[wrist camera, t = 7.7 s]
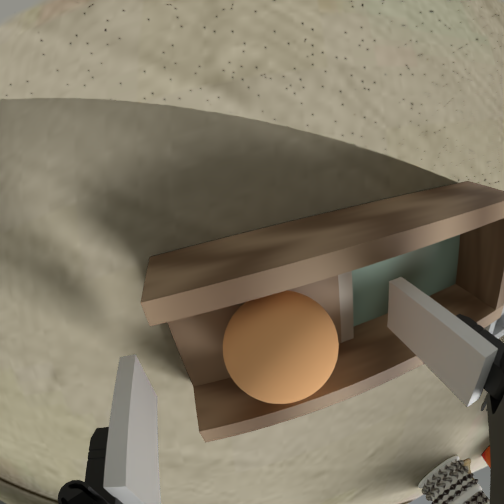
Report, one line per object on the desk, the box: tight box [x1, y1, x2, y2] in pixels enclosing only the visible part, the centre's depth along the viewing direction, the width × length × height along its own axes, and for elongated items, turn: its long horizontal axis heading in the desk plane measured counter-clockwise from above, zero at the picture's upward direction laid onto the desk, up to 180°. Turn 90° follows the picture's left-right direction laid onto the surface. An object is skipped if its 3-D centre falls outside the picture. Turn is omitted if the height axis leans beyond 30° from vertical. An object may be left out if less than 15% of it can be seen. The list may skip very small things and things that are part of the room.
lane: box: [141, 181, 504, 442], centre depth 16 cm, size 20×8×4 cm, turn 101°
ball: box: [223, 290, 339, 404], centre depth 13 cm, size 5×5×5 cm
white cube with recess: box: [484, 306, 504, 339], centre depth 21 cm, size 4×4×3 cm
